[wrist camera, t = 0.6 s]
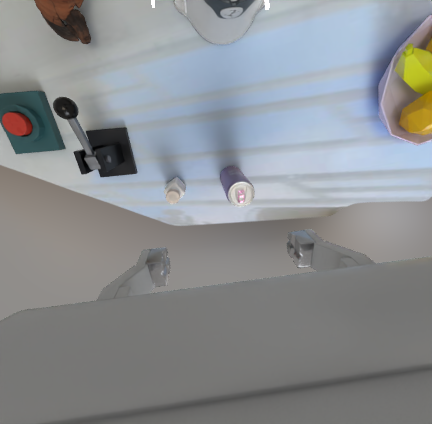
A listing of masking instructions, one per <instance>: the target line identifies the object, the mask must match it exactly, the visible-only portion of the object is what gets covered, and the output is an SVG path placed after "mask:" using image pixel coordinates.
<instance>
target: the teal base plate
mask: <svg viewBox="0 0 432 424" xmlns="http://www.w3.org/2000/svg"><path fill="white" fill-rule="evenodd" d="M9 112H13V113H21V114H23V115H25V116H26V117H27V118H28V119H29V120H30V121H31V123H32V131H31V133H30V134H28V135H21V136H17V135H14V134H12V133H10V132H9V131H7V130H6V128H5V127H4V125H3V122H2V118H3V116H4V114H6V113H9ZM0 123H1V125H2V127H3V129H4V131H5V132H6V134H7V136H8V138H9V140H10V142H11V144H12V147H13V149H14V151H15V153H16V154H22V153H32V152H43V151H54V150H62V149H66V148H65V146H64V143H63V140H62V138H61V135H60V132H59V130H58V127H57V124H56V122H55V119H54V116H53V114H52V111H51V108H50V106H49V103H48V101H47V98H46V95H45V93H44V92H42V91H27V92H15V93H2V94H0Z"/></svg>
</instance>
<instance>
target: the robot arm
mask: <svg viewBox="0 0 432 424" xmlns="http://www.w3.org/2000/svg"><path fill="white" fill-rule="evenodd" d="M151 1H152V6H153V7H155V6H154V0H151ZM174 5H175V7H176V9H177V10H178V11H179V12H180V13H182V14H183V15H184V16H186V17H187V18H188V19H189V20H190V22H191V23H192V25H193V26H194V28H195V29H196V31H197V32H198V33H199V34H200V35H201V36H202V37H203V38H204V39H206V40H207V41H209V42H211V43H214V44H219V45H226V44H230V43H233V42H235V41H237V40H238V39H240V38H241V37H242V36H243V35H244V34H245V33H246V32H247V30H248V29H249V27H250V26H251V24H252V22H253V19H254V17H255V16H256V14H257V13H258V12H259V11H260V10H261V9H262V8H263V7H264V6H265V5H266V10H267V9H268V8H269V0H174ZM287 238H288V239H289V242H288V243H287V251H288V254H289V256H290V257H291V258H293V262H294V263H295V265H296V266H297V268H303V267H311V268H313V269H314V270H316V272H309V273H302V274H294V275H286V276H279V277H271V278H263V279H256V280H249V281H241V282H233V283H226V284H218V285H211V286H203V287H196V288H188V289H180V290H173V291H165V292H158V293H150V292H151V291H152V290H153V289H154V287H160V286H166V285H168V281H169V275H168V274H169V273H170V259H169V258H168V257H167V256H168V251H167V248H156V249H147V250H143V251H142V252H141V255H140V257H139V260H138V262H137V264H136V266H133V267H132V268H130V269H129V270H127V271H126V272H125V273H123V274H122V275H121V276H119V277H118V278H117V279H115V280H114V281H113V282H111V283H110V284H109V285H107V286H106V287H105V288H103V290H102V291H101V293H100V295H99V297H98V299H97V300H96V301H90V302H82V303H75V304H68V305H60V306H52V307H46V308H36V309H27V310H23V311H19V312H17V313H14V314H12V315H10V316H9V317H6V318H5V319H3V320H1V321H0V424H432V256H430V257H422V258H415V259H407V260H400V261H392V262H384V263H377V264H376V263H374V262H373V261H372V260H371V259H370V258H368V257H367V256H366V255H364V254H362V253H359V252H356V251H353V250H350V249H347V248H345V247H341V246H339V245H336V244H333V243H330V242H327V241H325V242H324V241H323V240H322V239H321V238H320V237H319V236H318V235H317V234H316V233H315V232H314V231H313V230H311V229H307V230H302V231H295V232H289V233H288V237H287Z"/></svg>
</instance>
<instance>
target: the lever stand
mask: <svg viewBox="0 0 432 424" xmlns="http://www.w3.org/2000/svg"><path fill="white" fill-rule="evenodd" d="M86 134H87V137H88V140H89V143H90V145H91V147H92V148H93V150H94V151H95V152H96V155H97V158H98V162H99V165H100V168H101V169H98V171H99V174H100V177H109V176H119V175H129V174H136V173H137V169H136V165H135V161H134V157H133V153H132V149H131V145H130V141H129V137H128V132H127V128H115V129H103V130H92V131H86ZM74 155H75V158H76V160H77V163H78V166H79V169H80V171H81V174H87V173H89V172H91V171H93V170H91V169H90V168H89V166H88V164H87V163H86V161H85V159H84V157H85V156H86V152H85V150H84V149H82V150H78V151H74Z"/></svg>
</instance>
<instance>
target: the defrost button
mask: <svg viewBox="0 0 432 424" xmlns="http://www.w3.org/2000/svg"><path fill="white" fill-rule="evenodd" d="M2 122H3V125H4V127H5V128H6V130H7V131H9V132H10V133H12V134H14V135H17V136H21V135H28V134H30V133H31V131H32V123H31V121H30V120H29V119H28V118H27V117H26V116H25V115H23V114H21V113H13V112H9V113H6V114H4V116H3V118H2Z"/></svg>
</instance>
